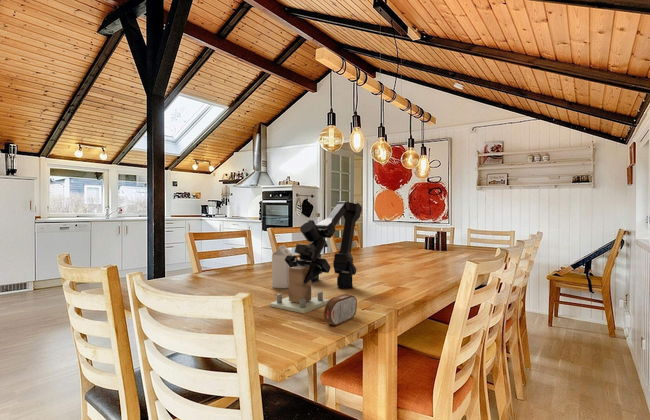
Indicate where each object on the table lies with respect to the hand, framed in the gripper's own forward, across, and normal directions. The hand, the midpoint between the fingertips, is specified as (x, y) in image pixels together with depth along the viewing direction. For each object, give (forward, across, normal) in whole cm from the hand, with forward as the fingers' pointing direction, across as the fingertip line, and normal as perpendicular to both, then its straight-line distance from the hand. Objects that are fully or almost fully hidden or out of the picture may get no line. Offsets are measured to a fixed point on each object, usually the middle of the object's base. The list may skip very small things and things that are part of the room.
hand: (297, 281), depth 135 cm
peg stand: (+5, 0, +7) cm, 9 cm away
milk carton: (-8, -25, +21) cm, 33 cm away
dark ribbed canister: (-20, -23, +33) cm, 45 cm away
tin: (+11, +23, +1) cm, 26 cm away
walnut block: (+4, 0, +6) cm, 7 cm away
